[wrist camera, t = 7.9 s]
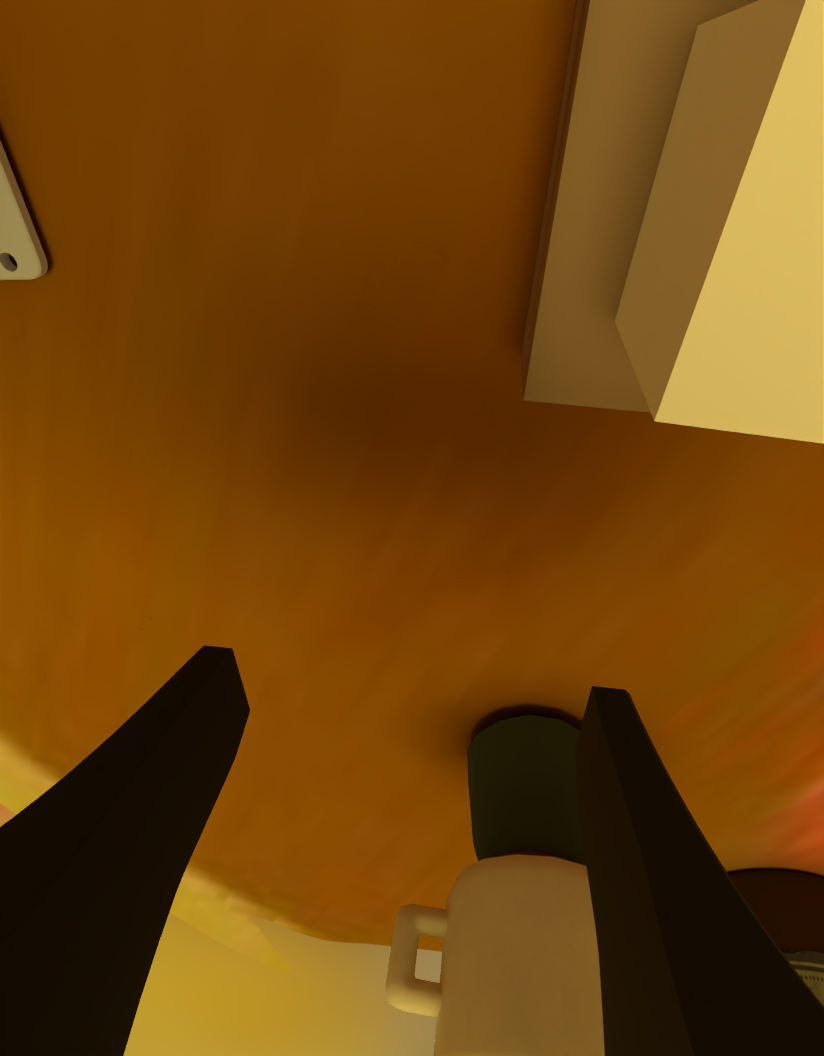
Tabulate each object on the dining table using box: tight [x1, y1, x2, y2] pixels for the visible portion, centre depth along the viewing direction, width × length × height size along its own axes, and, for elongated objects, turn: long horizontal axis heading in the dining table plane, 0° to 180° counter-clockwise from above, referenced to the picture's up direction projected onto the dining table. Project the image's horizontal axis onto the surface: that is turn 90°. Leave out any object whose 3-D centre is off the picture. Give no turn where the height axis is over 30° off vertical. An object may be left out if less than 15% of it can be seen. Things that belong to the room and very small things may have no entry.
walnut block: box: [522, 0, 758, 413], centre depth 13 cm, size 9×9×4 cm
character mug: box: [386, 715, 605, 1056], centre depth 23 cm, size 11×7×13 cm, turn 88°
